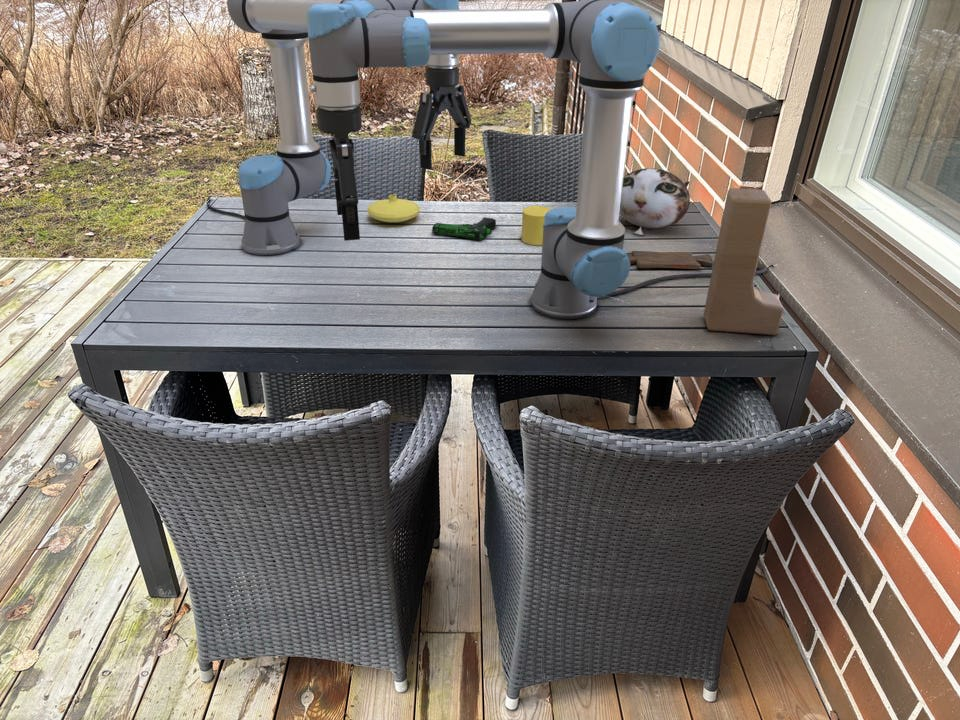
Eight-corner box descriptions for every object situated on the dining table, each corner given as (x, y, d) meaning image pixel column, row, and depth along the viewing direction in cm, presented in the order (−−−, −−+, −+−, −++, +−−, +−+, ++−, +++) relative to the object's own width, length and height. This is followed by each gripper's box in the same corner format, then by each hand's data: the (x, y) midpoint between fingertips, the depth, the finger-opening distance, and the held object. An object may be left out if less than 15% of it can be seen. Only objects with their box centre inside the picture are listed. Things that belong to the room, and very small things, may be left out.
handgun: (502, 218, 210) (482, 233, 198) (502, 228, 212) (482, 243, 199) (452, 211, 216) (430, 225, 203) (452, 221, 217) (430, 235, 205)
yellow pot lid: (391, 206, 226) (390, 184, 222) (430, 216, 218) (430, 194, 214) (356, 220, 215) (355, 197, 211) (396, 231, 207) (395, 207, 203)
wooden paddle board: (717, 272, 186) (707, 257, 194) (718, 266, 185) (709, 251, 193) (618, 268, 186) (613, 254, 195) (619, 262, 185) (613, 248, 194)
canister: (539, 247, 198) (541, 218, 194) (515, 239, 203) (516, 211, 199) (557, 239, 204) (560, 210, 200) (534, 232, 209) (535, 203, 204)
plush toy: (594, 216, 205) (617, 152, 207) (611, 239, 221) (631, 180, 223) (669, 229, 195) (692, 162, 196) (681, 253, 210) (702, 191, 212)
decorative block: (777, 336, 155) (812, 202, 140) (707, 331, 157) (733, 198, 142) (770, 320, 162) (802, 191, 146) (702, 315, 163) (727, 187, 148)
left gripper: (421, 75, 148) (424, 176, 159) (486, 61, 166) (485, 153, 177) (393, 71, 151) (397, 171, 162) (460, 58, 169) (460, 148, 180)
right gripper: (311, 92, 130) (322, 205, 141) (320, 123, 109) (333, 253, 120) (352, 91, 132) (361, 203, 143) (369, 121, 111) (377, 249, 122)
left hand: (443, 161), depth 169 cm, fingers open, 13 cm apart
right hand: (348, 226), depth 131 cm, fingers open, 13 cm apart
